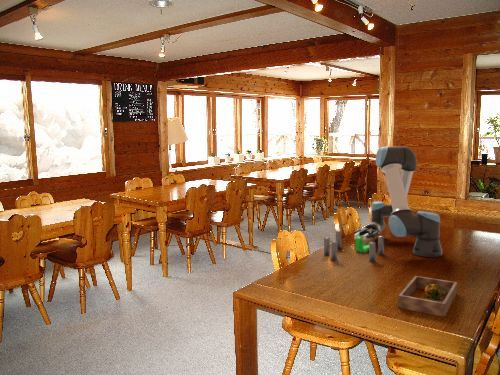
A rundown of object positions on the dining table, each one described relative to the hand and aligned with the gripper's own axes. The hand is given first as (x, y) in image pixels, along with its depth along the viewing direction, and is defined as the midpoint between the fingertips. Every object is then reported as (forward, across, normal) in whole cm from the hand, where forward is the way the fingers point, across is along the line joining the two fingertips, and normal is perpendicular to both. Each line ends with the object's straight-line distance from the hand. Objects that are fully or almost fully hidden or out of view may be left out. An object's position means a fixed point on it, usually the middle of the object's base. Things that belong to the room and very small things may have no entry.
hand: (359, 237), depth 257 cm
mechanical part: (-3, -2, -8) cm, 9 cm away
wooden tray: (+59, -50, -8) cm, 77 cm away
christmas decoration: (+57, -52, -8) cm, 78 cm away
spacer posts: (+13, 0, -7) cm, 15 cm away
